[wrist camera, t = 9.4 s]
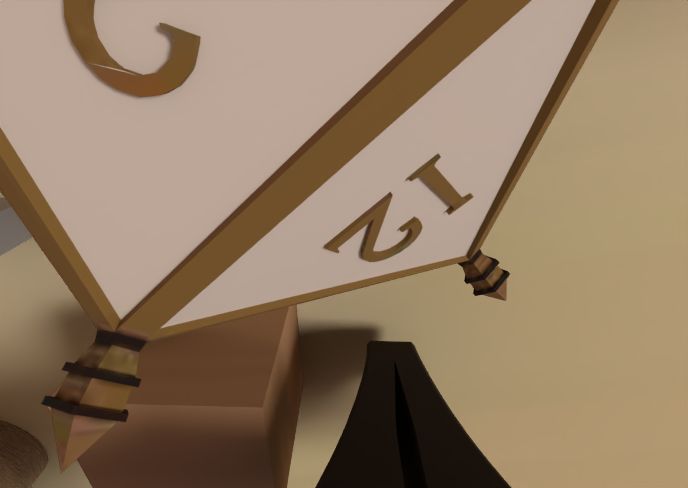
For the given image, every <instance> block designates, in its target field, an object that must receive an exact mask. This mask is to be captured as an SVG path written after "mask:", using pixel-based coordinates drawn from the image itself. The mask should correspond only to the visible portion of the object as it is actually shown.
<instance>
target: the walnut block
mask: <svg viewBox="0 0 688 488" xmlns="http://www.w3.org/2000/svg"><path fill="white" fill-rule="evenodd" d="M136 378H140V379H142V380H141V382H140V385H139V388H138V387H133V386H132V389H131V392H130V394H129V397H128V399H127V402H126V405H125V407H124V409H127V410H128V413H129V415H128V418H127V420H126V422H120V421H118V422H117V423H116V424H115V425H114V426H112V427H111V428H110V429H109V430H108V431H107V432H106V433H105V434H104V435H103V436H101V437H100V438H99V439H98V440H97V441H96V442H95V443H94V444H93V445H92V446H90V447H89V448H88V449H87V450H86V451H85V452H84V453H83V454H82V455H81V456H79V457H78V458H77V460H78V462H79V464H80V466H81V467H82V469H83V471H84V473H85V475H86V476H87V478H88V480H89V482H90V484H91V485H92V487H93V488H287V483H288V476H289V470H290V464H291V458H292V451H293V445H294V439H295V433H296V426H297V420H298V414H299V408H300V401H301V395H302V389H303V383H302V370H301V356H300V343H299V330H298V317H297V304H296V305H293V306H289V307H285V308H281V309H277V310H273V311H269V312H265V313H261V314H258V315H254V316H250V317H246V318H242V319H238V320H234V321H230V322H226V323H223V324H219V325H215V326H211V327H207V328H203V329H199V330H195V331H191V332H188V333H184V334H180V335H176V336H172V337H168V338H164V339H160V340H156V341H152V342H149V343H146V344H145V345H144V347H143V348H142V349H141V351H140V352H139V358H138V365H137V371H136ZM63 382H64V381H63ZM63 382H62V383H63ZM62 383H61V385H62ZM61 385H60V386H59V387H58V388H57V389H56V390H55V391H54V392H53V394H52V395H51V396H52V397H55V396H56V394H57V392H58V390H59V389H60V387H61ZM47 407H48V408H49V410H50V412H51V407H49V406H47ZM51 414H52V413H51Z"/></svg>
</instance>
